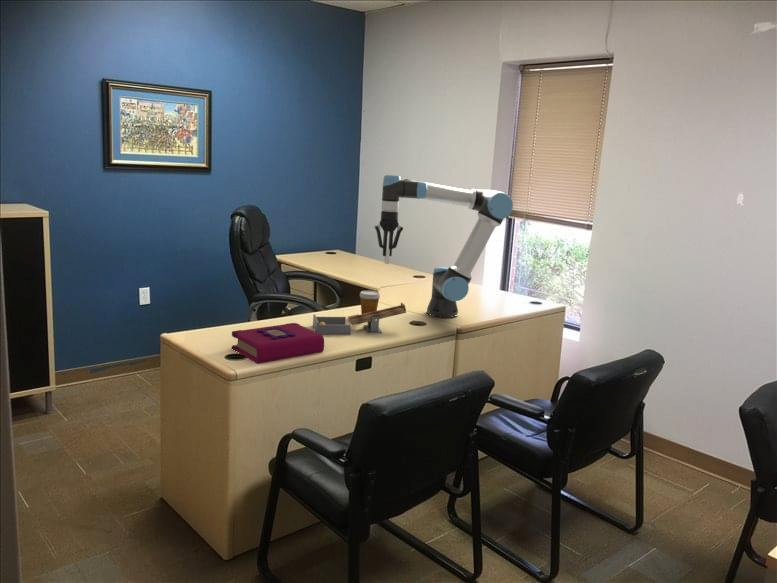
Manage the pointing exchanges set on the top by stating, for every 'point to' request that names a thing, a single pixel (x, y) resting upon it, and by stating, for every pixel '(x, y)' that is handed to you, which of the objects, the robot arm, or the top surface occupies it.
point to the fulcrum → (373, 325)
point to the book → (277, 342)
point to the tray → (331, 325)
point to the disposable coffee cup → (369, 301)
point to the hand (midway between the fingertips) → (386, 263)
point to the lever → (377, 314)
